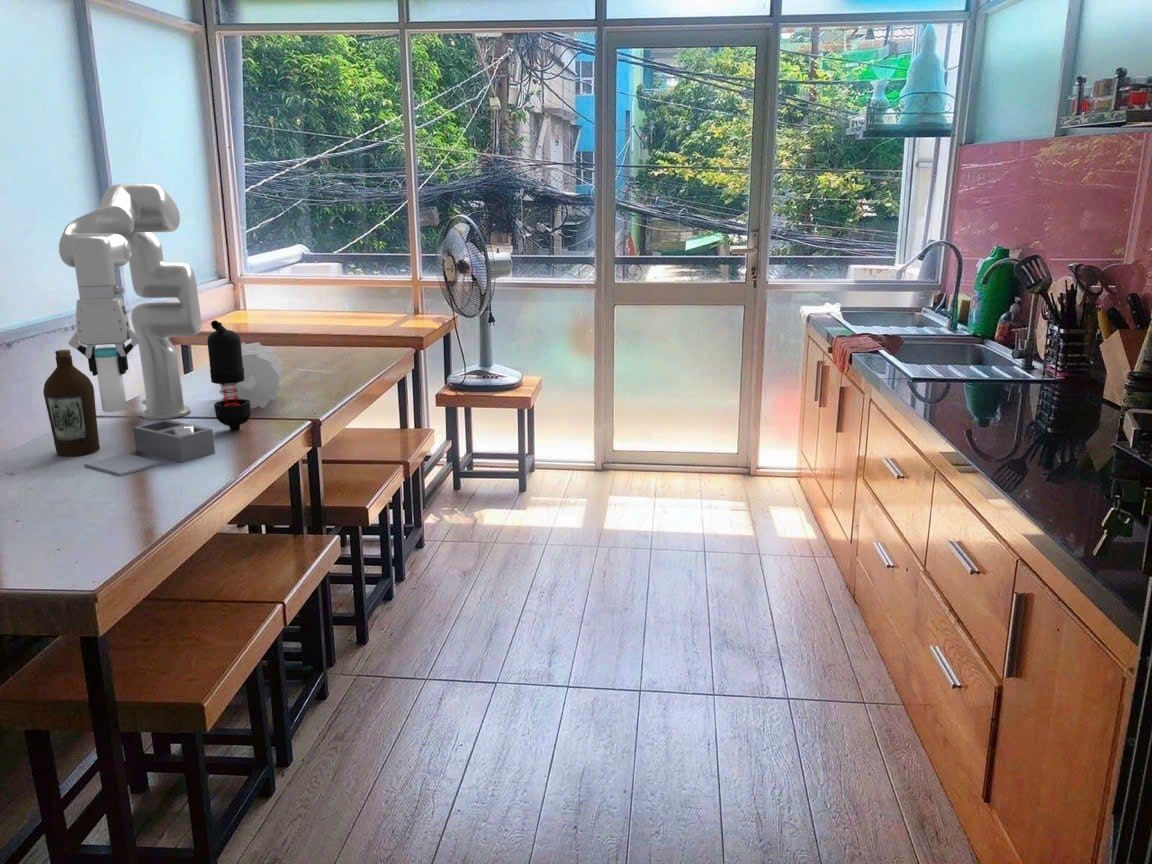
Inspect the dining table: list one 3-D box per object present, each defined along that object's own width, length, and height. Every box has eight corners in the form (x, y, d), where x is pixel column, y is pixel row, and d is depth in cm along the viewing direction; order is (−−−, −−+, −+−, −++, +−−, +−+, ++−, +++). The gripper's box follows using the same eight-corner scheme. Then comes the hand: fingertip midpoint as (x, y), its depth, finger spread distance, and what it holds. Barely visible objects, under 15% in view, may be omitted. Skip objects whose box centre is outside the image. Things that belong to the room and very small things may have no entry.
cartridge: (105, 407, 207) (97, 347, 203) (129, 406, 208) (120, 346, 204) (100, 412, 202) (90, 351, 198) (124, 411, 203) (115, 350, 200)
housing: (136, 451, 220) (132, 427, 218) (168, 442, 227) (165, 419, 226) (182, 462, 211) (179, 438, 209) (215, 453, 218) (212, 429, 217)
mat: (84, 466, 208) (84, 463, 208) (125, 455, 216) (124, 453, 216) (121, 475, 201) (120, 473, 201) (161, 464, 209) (160, 461, 209)
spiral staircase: (270, 406, 281) (268, 421, 258) (213, 385, 275) (205, 399, 251) (292, 352, 279) (291, 363, 256) (235, 330, 273) (229, 339, 250)
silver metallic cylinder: (172, 447, 215) (169, 427, 214) (188, 443, 219) (185, 423, 218) (183, 450, 213) (181, 430, 212) (199, 446, 217) (197, 426, 216)
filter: (244, 435, 233) (232, 320, 225) (209, 435, 233) (196, 320, 225) (262, 422, 246) (251, 313, 238) (229, 422, 246) (217, 313, 238)
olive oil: (61, 446, 224) (45, 347, 217) (107, 444, 226) (93, 346, 219) (47, 459, 214) (30, 355, 207) (95, 456, 216) (80, 353, 209)
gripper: (143, 290, 204) (153, 369, 208) (61, 292, 200) (73, 372, 204) (136, 293, 196) (146, 375, 201) (50, 296, 193) (63, 379, 197)
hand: (109, 373), depth 203 cm, fingers closed on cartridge, 5 cm apart
